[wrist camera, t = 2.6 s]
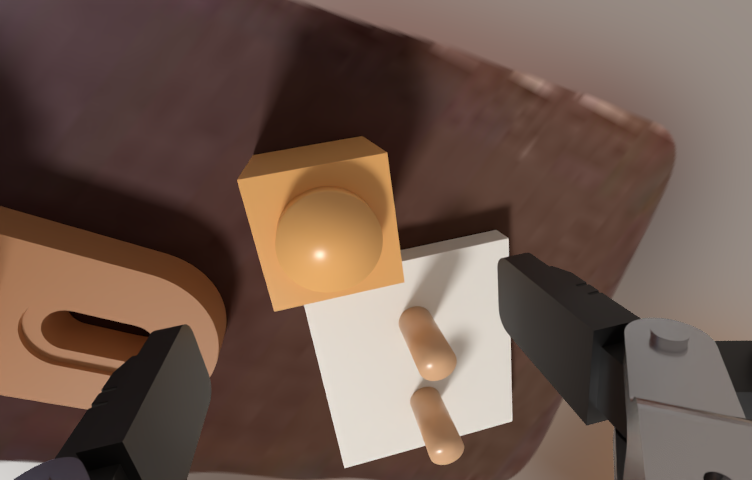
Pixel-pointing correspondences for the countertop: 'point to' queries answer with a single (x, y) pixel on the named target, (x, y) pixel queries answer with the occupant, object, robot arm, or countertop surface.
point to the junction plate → (389, 362)
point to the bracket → (89, 307)
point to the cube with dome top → (323, 220)
